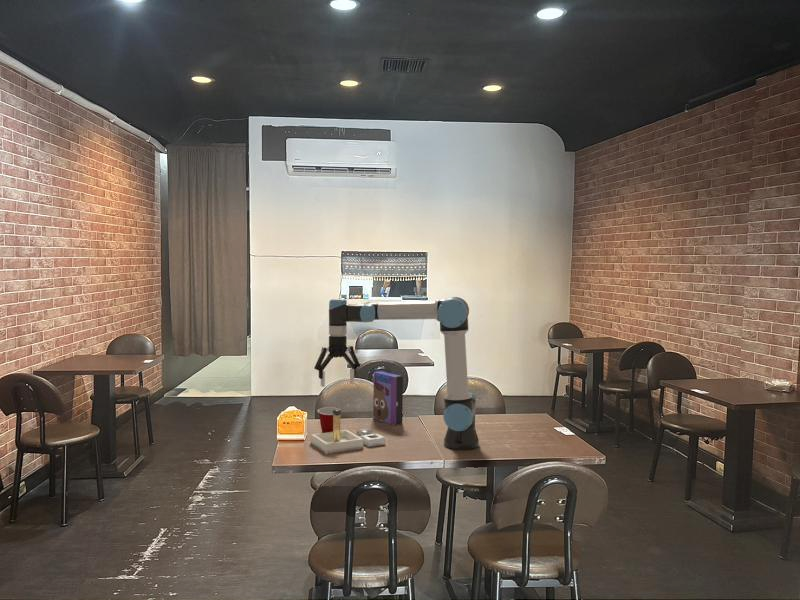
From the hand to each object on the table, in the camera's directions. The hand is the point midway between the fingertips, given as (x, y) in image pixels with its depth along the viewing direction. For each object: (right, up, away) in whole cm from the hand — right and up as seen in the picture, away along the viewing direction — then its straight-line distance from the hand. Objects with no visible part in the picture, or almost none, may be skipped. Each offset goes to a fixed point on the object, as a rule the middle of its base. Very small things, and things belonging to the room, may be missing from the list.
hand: (337, 385), depth 263 cm
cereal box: (+20, -25, +46) cm, 56 cm away
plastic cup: (-5, -26, +17) cm, 32 cm away
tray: (0, -26, +1) cm, 26 cm away
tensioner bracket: (+13, -26, +9) cm, 31 cm away
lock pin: (0, -25, +1) cm, 25 cm away
